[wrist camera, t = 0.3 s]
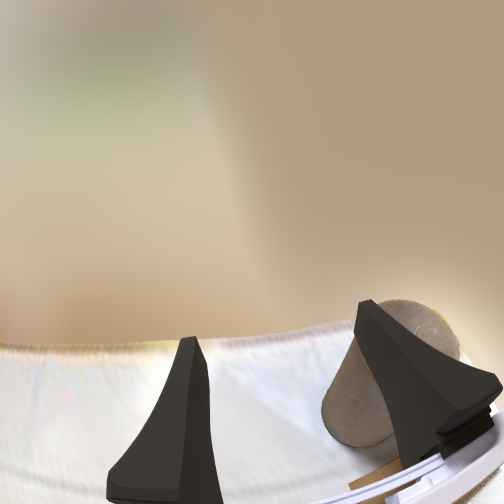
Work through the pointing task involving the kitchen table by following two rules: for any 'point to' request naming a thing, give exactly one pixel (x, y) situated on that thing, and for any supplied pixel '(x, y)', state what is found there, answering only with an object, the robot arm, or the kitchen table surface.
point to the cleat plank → (385, 472)
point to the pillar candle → (365, 386)
